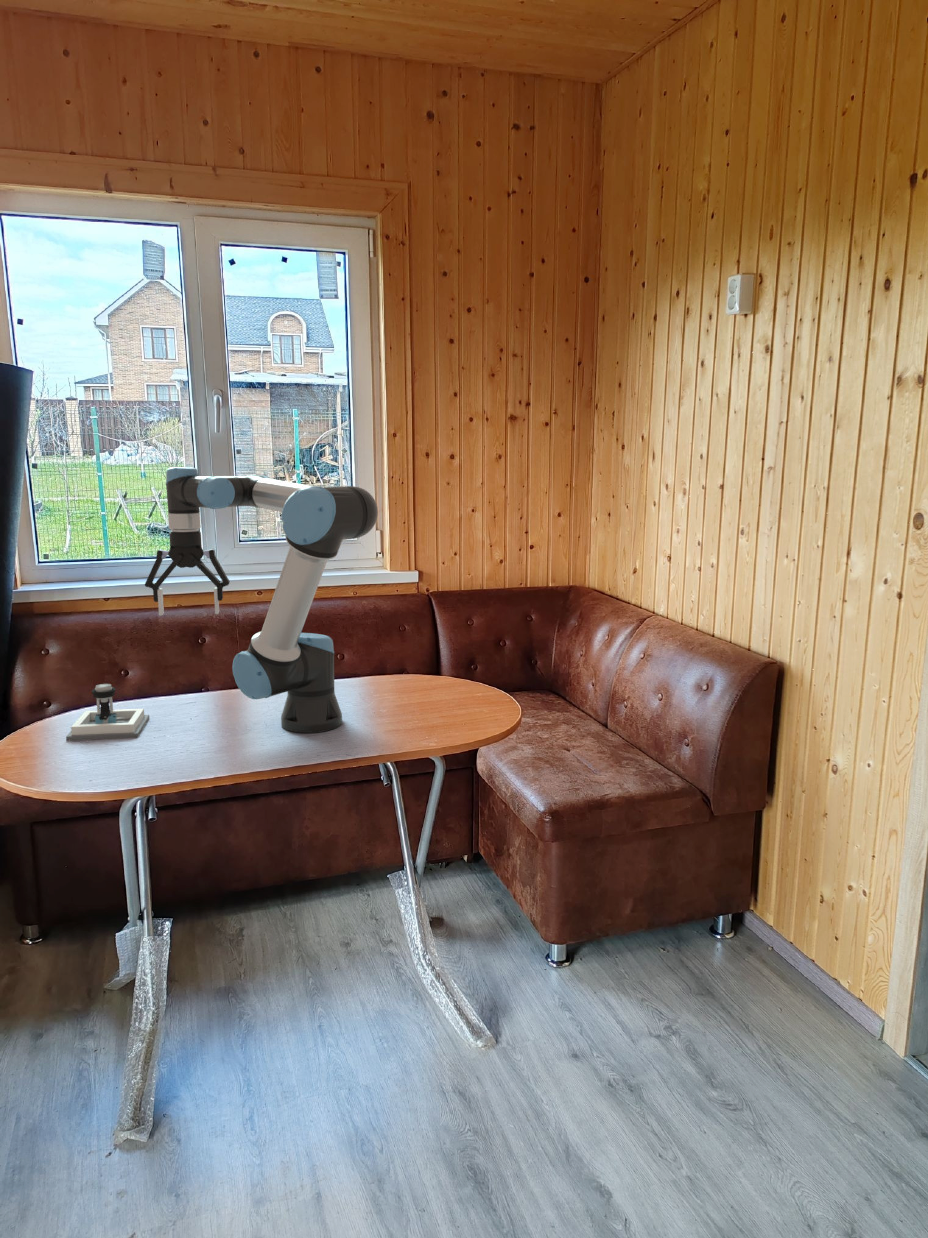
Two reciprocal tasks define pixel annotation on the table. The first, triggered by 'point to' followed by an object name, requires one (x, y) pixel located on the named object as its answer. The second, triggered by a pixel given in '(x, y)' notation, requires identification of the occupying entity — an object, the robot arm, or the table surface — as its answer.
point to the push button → (105, 704)
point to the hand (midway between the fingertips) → (189, 614)
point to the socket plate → (109, 726)
